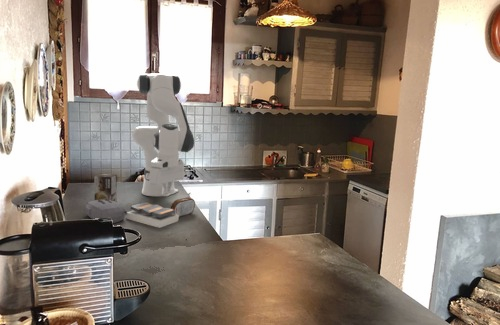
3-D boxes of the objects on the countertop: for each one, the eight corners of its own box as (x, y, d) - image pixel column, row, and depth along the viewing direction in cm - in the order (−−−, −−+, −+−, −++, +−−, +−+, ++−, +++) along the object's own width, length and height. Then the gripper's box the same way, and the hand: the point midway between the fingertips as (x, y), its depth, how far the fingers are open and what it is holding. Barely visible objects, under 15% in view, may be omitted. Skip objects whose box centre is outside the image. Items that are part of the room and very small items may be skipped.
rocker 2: (156, 206, 195) (156, 203, 194) (163, 210, 193) (164, 207, 192) (141, 211, 186) (141, 208, 186) (149, 215, 184) (149, 212, 184)
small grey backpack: (80, 215, 190) (100, 227, 176) (80, 198, 188) (100, 208, 175) (110, 210, 200) (131, 221, 187) (111, 194, 199) (132, 203, 185)
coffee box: (116, 205, 209) (117, 174, 206) (111, 208, 202) (111, 177, 200) (99, 203, 209) (100, 173, 207) (93, 207, 203) (93, 175, 200)
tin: (191, 211, 207) (192, 195, 206) (195, 213, 206) (196, 196, 204) (169, 217, 195) (169, 200, 194) (174, 219, 193) (174, 202, 192)
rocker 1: (145, 204, 198) (146, 201, 198) (153, 207, 196) (153, 204, 195) (130, 208, 189) (130, 205, 189) (138, 212, 187) (138, 209, 187)
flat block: (166, 210, 192) (166, 206, 192) (174, 212, 190) (175, 209, 189) (151, 214, 183) (152, 211, 183) (160, 217, 181) (160, 214, 181)
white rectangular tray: (134, 209, 204) (134, 203, 204) (178, 220, 191) (178, 214, 191) (113, 215, 193) (114, 208, 192) (159, 227, 180) (159, 220, 179)
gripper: (177, 157, 192) (176, 186, 195) (147, 162, 174) (146, 194, 177) (188, 159, 189) (187, 188, 192) (158, 164, 172) (157, 196, 174)
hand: (167, 191), depth 184 cm, fingers closed
